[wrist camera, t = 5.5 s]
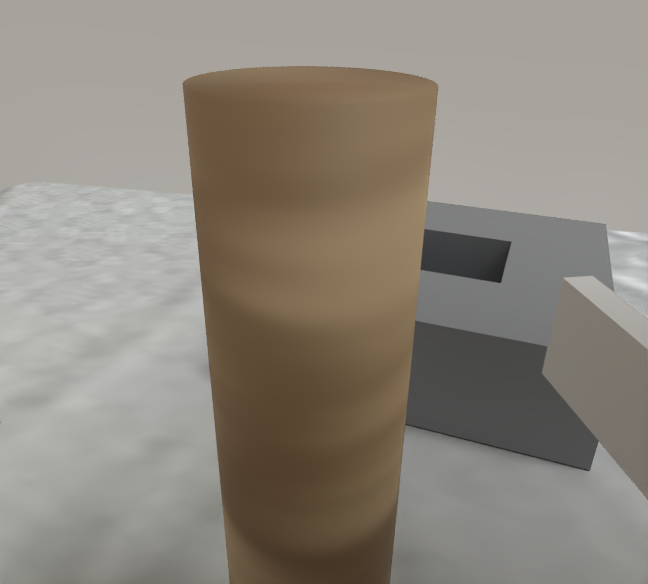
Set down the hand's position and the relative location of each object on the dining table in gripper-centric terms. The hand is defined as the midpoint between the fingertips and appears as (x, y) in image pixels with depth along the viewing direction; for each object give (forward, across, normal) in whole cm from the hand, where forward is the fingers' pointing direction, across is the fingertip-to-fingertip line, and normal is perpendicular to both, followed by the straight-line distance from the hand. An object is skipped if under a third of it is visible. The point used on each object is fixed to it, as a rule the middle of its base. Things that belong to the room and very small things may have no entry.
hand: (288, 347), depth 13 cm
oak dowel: (-2, 0, -9) cm, 9 cm away
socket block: (+13, +9, -9) cm, 18 cm away
